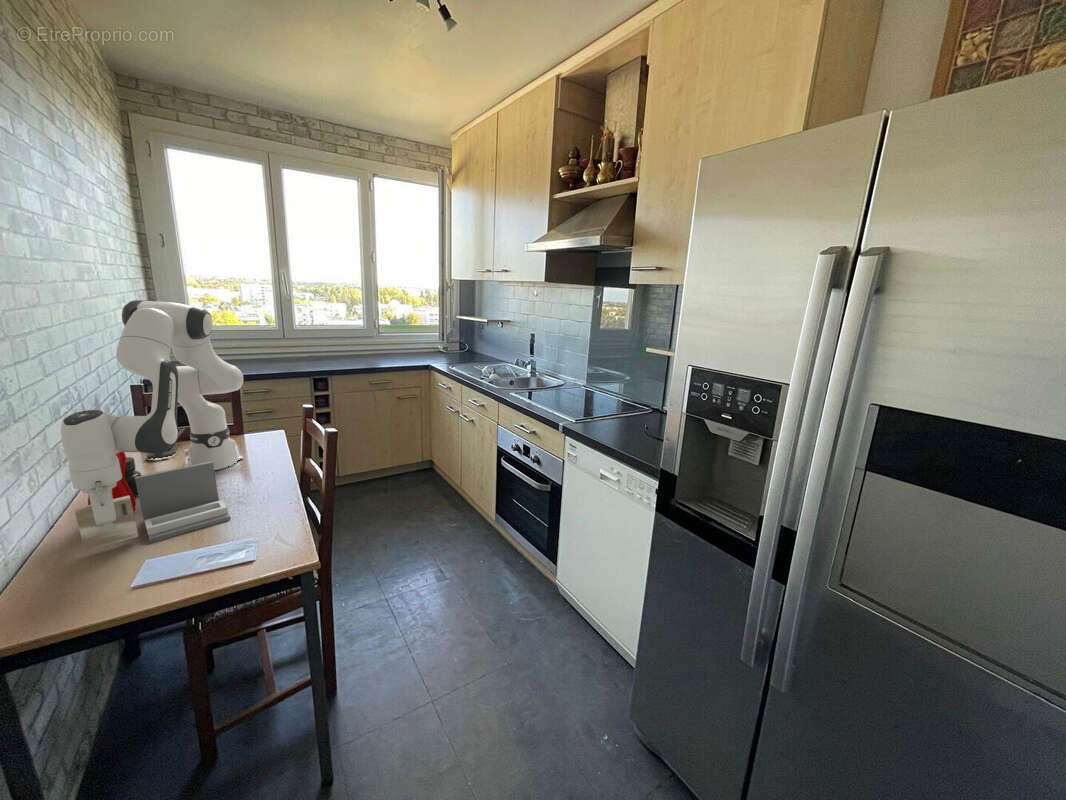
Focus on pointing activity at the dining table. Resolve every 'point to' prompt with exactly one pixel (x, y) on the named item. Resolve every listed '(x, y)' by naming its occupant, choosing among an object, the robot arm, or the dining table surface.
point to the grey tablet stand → (180, 500)
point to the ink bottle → (131, 475)
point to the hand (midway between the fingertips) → (108, 525)
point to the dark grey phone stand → (169, 451)
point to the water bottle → (121, 483)
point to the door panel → (95, 533)
